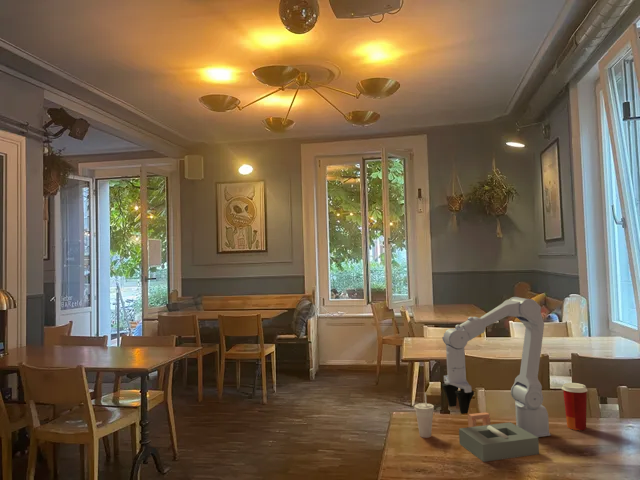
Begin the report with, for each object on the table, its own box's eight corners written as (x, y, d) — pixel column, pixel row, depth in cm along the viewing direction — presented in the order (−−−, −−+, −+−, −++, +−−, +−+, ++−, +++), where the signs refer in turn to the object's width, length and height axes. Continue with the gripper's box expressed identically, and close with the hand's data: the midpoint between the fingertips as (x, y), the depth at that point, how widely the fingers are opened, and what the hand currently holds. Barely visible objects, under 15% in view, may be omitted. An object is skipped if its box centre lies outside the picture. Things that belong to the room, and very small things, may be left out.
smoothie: (435, 439, 162) (433, 395, 162) (415, 438, 163) (413, 395, 164) (435, 432, 168) (433, 390, 169) (415, 431, 170) (413, 389, 170)
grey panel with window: (511, 437, 162) (510, 419, 162) (539, 454, 148) (538, 434, 148) (459, 444, 158) (458, 425, 158) (483, 461, 144) (482, 441, 144)
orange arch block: (486, 429, 169) (485, 411, 169) (490, 432, 166) (490, 414, 166) (468, 432, 168) (467, 413, 168) (473, 435, 165) (472, 416, 165)
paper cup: (590, 425, 169) (588, 383, 169) (588, 433, 163) (586, 389, 163) (564, 422, 173) (562, 381, 174) (561, 429, 167) (559, 386, 167)
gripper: (434, 363, 167) (436, 404, 167) (455, 373, 153) (458, 418, 153) (454, 361, 169) (456, 402, 169) (476, 370, 155) (479, 415, 155)
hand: (458, 409), depth 161 cm, fingers open, 7 cm apart
